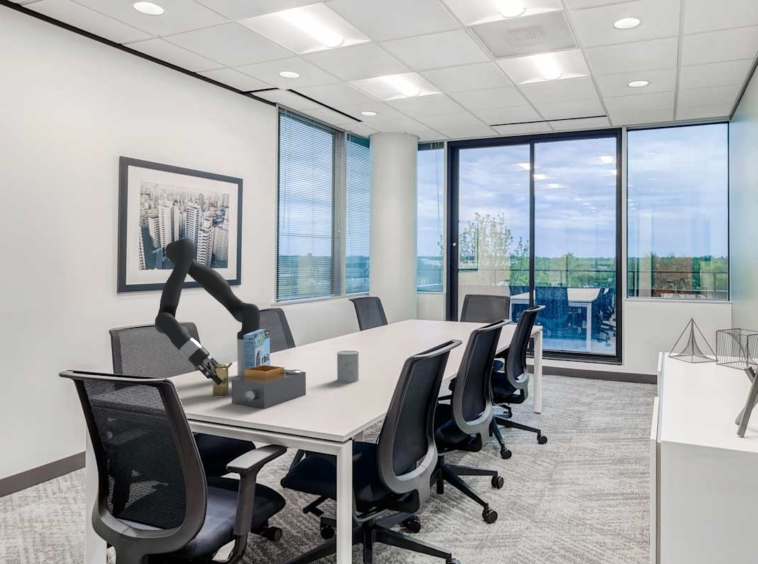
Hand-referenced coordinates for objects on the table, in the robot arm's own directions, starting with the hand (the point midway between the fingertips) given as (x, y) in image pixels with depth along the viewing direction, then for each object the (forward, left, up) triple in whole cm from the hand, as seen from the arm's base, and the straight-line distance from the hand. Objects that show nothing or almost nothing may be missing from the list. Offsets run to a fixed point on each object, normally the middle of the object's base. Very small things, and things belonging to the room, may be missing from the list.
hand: (223, 381), depth 222 cm
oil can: (+1, -1, -5) cm, 6 cm away
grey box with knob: (-3, +20, -5) cm, 21 cm away
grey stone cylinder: (-46, +28, -6) cm, 54 cm away
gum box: (-18, +1, -6) cm, 19 cm away
